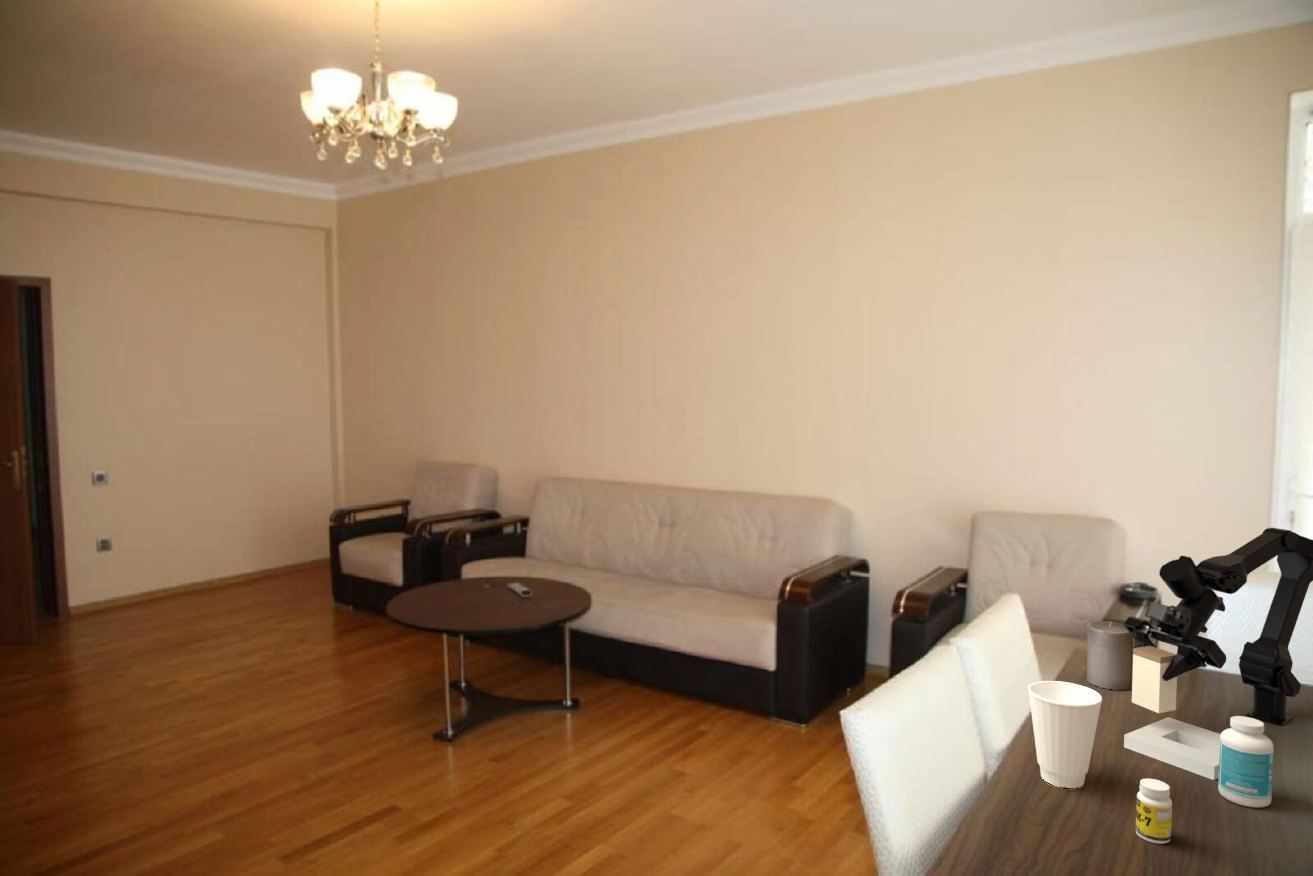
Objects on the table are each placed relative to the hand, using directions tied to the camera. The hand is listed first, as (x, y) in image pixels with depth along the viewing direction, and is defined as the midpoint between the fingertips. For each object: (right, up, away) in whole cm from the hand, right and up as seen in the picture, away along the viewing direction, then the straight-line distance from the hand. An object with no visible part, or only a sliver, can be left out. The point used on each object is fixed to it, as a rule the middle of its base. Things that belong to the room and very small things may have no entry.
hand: (1149, 674), depth 164 cm
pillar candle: (+10, -12, +32) cm, 36 cm away
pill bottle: (+3, -15, -22) cm, 27 cm away
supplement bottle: (-19, -16, -34) cm, 42 cm away
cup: (-25, -15, -15) cm, 32 cm away
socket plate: (+5, -14, -5) cm, 15 cm away
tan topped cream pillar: (+1, -7, +1) cm, 7 cm away
